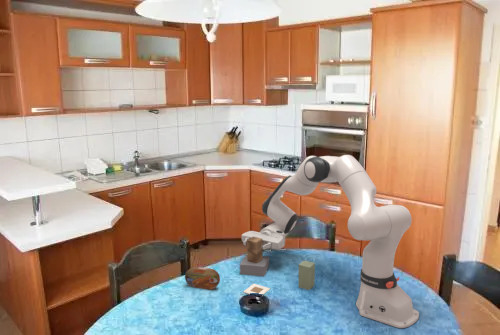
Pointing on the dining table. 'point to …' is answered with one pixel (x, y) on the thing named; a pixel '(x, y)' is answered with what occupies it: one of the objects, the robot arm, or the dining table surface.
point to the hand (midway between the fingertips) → (253, 245)
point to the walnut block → (254, 249)
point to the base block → (254, 267)
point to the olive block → (306, 275)
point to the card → (256, 289)
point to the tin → (202, 278)
